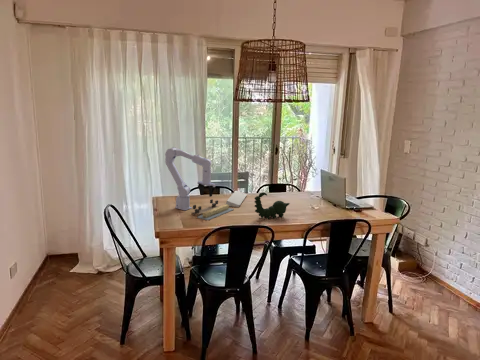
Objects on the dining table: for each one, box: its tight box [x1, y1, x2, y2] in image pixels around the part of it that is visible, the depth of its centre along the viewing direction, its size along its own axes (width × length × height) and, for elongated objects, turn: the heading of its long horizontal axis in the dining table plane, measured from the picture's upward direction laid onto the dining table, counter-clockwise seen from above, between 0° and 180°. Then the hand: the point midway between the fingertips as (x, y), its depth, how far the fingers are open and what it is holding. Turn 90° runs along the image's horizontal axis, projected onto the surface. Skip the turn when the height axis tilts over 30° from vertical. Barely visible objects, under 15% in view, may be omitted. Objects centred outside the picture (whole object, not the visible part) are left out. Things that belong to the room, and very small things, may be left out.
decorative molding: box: [225, 190, 248, 208], centre depth 277 cm, size 34×5×10 cm
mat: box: [196, 207, 235, 221], centre depth 243 cm, size 9×30×1 cm, turn 147°
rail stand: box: [191, 198, 220, 217], centre depth 247 cm, size 6×24×6 cm, turn 147°
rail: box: [203, 203, 230, 218], centre depth 243 cm, size 3×26×3 cm, turn 148°
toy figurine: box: [254, 191, 290, 220], centre depth 238 cm, size 9×19×25 cm
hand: (206, 195), depth 249 cm, fingers open, 7 cm apart
